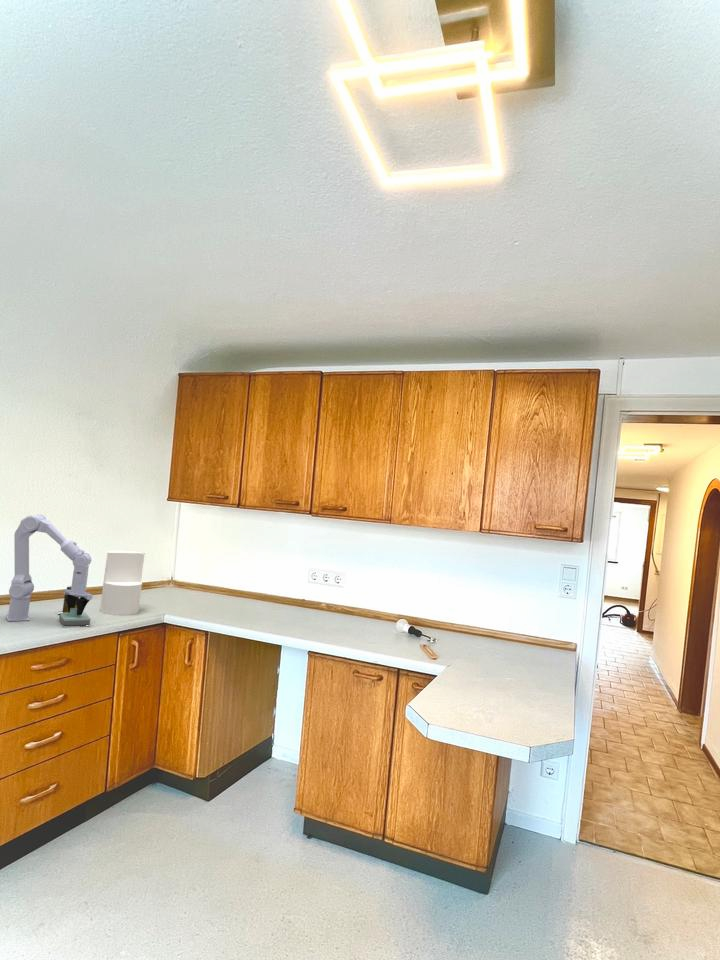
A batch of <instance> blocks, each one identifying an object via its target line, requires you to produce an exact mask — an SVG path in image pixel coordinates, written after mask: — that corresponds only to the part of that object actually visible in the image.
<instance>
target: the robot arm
mask: <svg viewBox="0 0 720 960" xmlns="http://www.w3.org/2000/svg"><path fill="white" fill-rule="evenodd" d="M36 532H39V533H43V534H44V533H45V534H47V536H49V537H50V538H51V539H53V541H55V542H56V543H57V544H58V545H59V546H60V551H61V552H62V553H63V554H64V555H65V556H66V557H67V558H68V559H70V561H72V565H73V574H72V579H71V590H69V589H63V591H62V592H63V593H62V595H64V596H65V594H67V595H68V596H65V600H66V602H67V606H68V612H69V613H70V608H75V604H76V601H77V615H82V613H83V612H84V610H85V609H86V606H87V604H88V603H89V602H90V601H91V600H93V597H94V595H93V594H92V593H89V592H86V591H87V585H88V584H87V582H88V577H89V565H90V564H91V563H92V557H91V555H90V554H89V553H87V552H85V550H83V549H81V548H80V547H79V546H78V545H77V544H78V543H77V542H76V541H73V540H68V539H67V538H66V537H65V536H64V535H63V534H62V533H61V532H60V531H59V529H57V527H56V526H55V525H54V524H53V523H52V522H51V521H50V520H49V519H47V518H46V516H44V515H43V514H36V515H28V516H26V517H24V518H23V519H21V520H20V522H19V525H18V526H17V529H16V530H15V531H14V537H13V538H14V576H13V578H12V579H11V581H10V582H11V584H10V587H9V589H8V593H9V596H10V601H9V605H8V607H9V608H8V613H7V614H5V617H6V621H7V622H25V621H30V617H29V612H30V611H29V610H30V603H31V594H32V593H33V592H34V591H35V590H34V589H35V585H34V583H33V581H32V580H33V579H32V576H31V574H30V537H31V536H32V535H34V534H35V533H36ZM78 597H79V598H78Z"/></svg>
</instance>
